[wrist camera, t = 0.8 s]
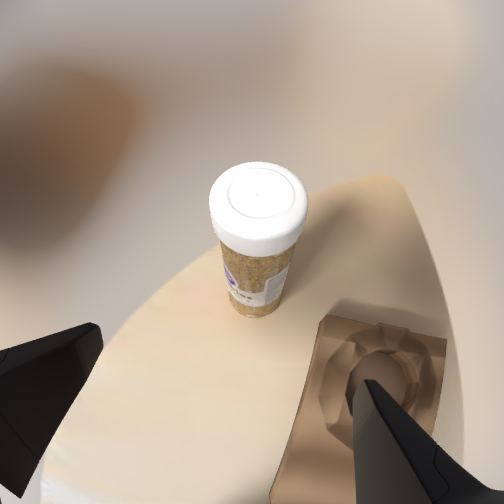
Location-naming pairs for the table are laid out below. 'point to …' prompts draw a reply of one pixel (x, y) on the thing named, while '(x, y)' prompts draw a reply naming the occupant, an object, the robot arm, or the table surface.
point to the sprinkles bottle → (257, 231)
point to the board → (341, 403)
